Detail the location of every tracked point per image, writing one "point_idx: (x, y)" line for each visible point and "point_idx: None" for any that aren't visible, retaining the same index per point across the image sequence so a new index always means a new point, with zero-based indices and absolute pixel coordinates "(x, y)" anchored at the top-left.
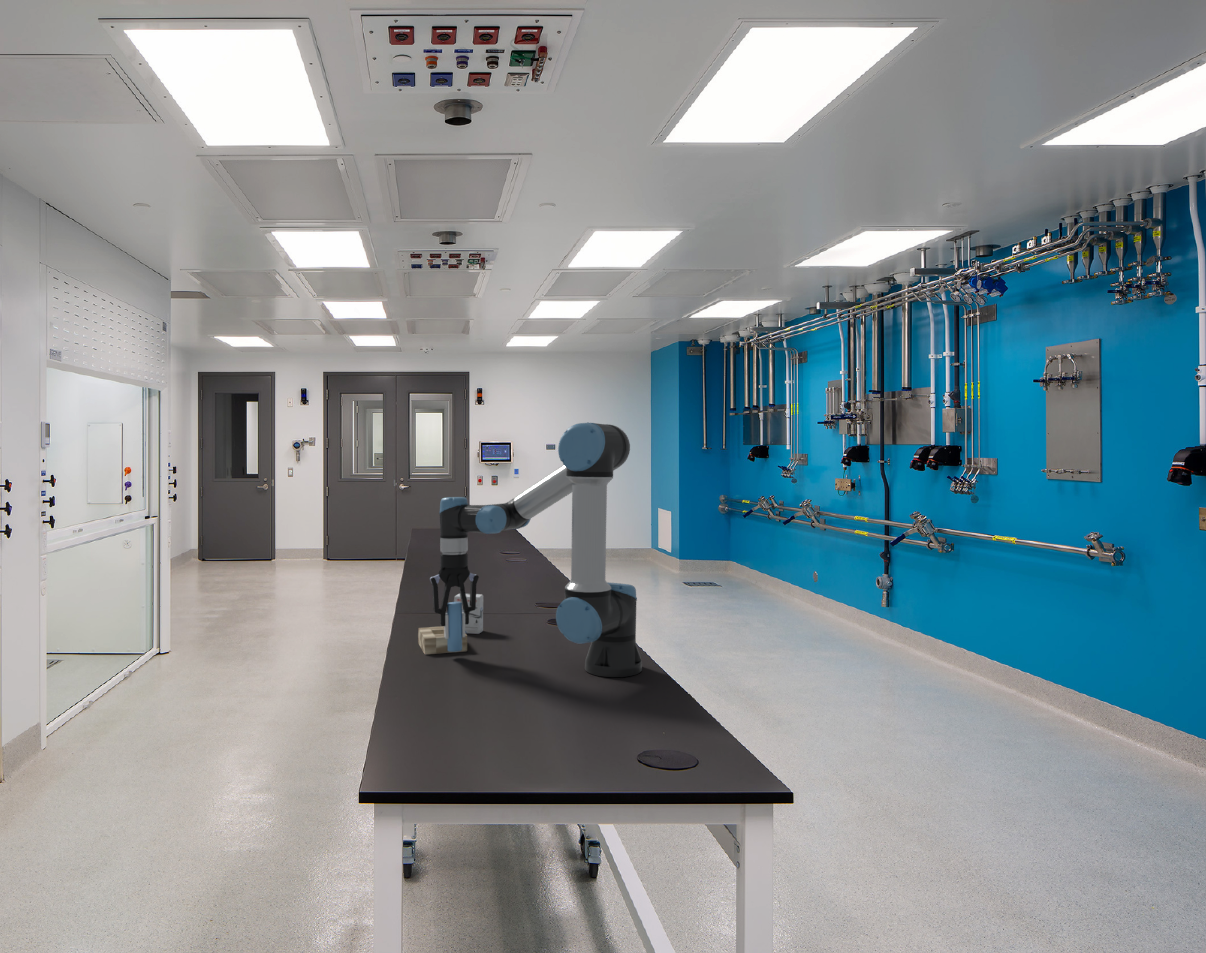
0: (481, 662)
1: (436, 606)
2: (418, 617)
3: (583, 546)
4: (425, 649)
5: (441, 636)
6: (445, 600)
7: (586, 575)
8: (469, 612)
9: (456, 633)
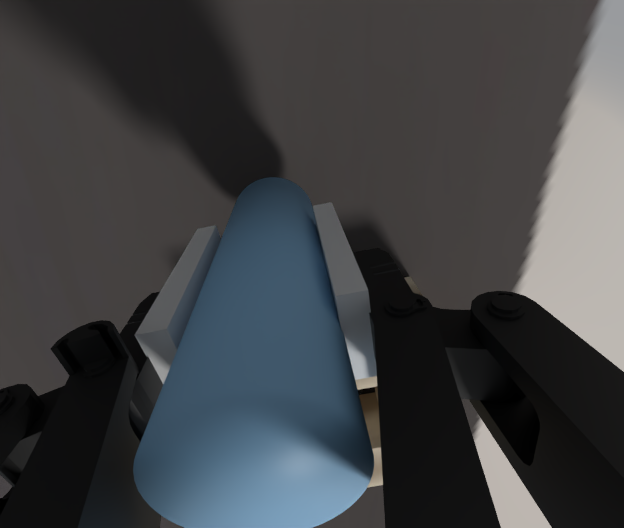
0: (121, 98)
1: (558, 351)
2: None
3: None
4: (413, 288)
5: None
6: (441, 476)
7: None
8: None
9: (254, 214)
